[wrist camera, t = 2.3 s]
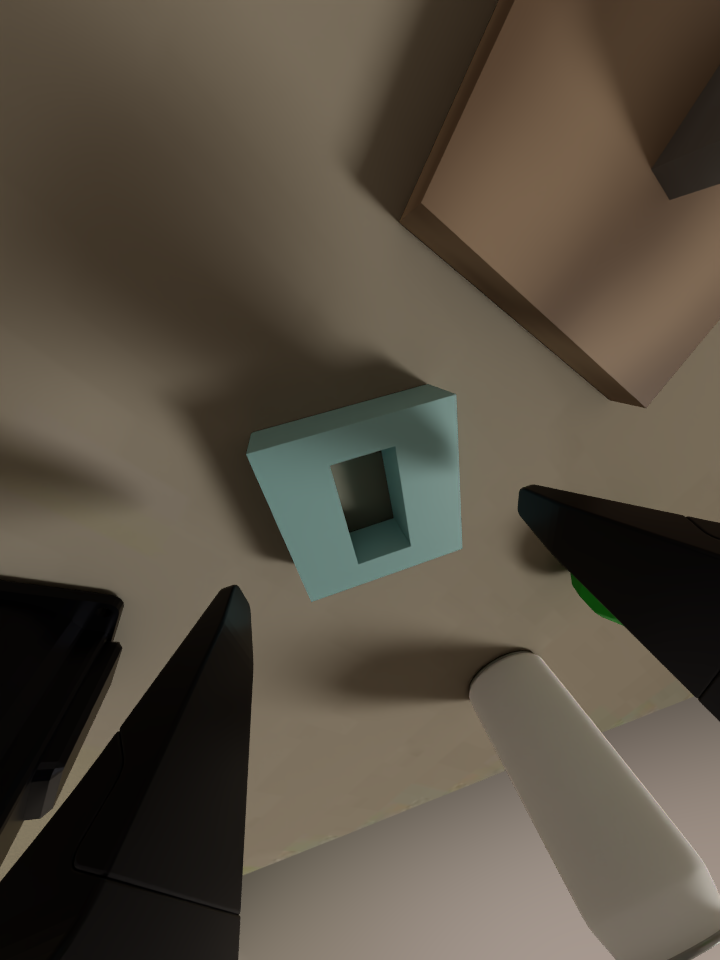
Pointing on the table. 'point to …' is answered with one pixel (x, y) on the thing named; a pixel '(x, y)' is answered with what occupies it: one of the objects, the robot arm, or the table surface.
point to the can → (596, 817)
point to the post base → (588, 182)
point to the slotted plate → (410, 477)
